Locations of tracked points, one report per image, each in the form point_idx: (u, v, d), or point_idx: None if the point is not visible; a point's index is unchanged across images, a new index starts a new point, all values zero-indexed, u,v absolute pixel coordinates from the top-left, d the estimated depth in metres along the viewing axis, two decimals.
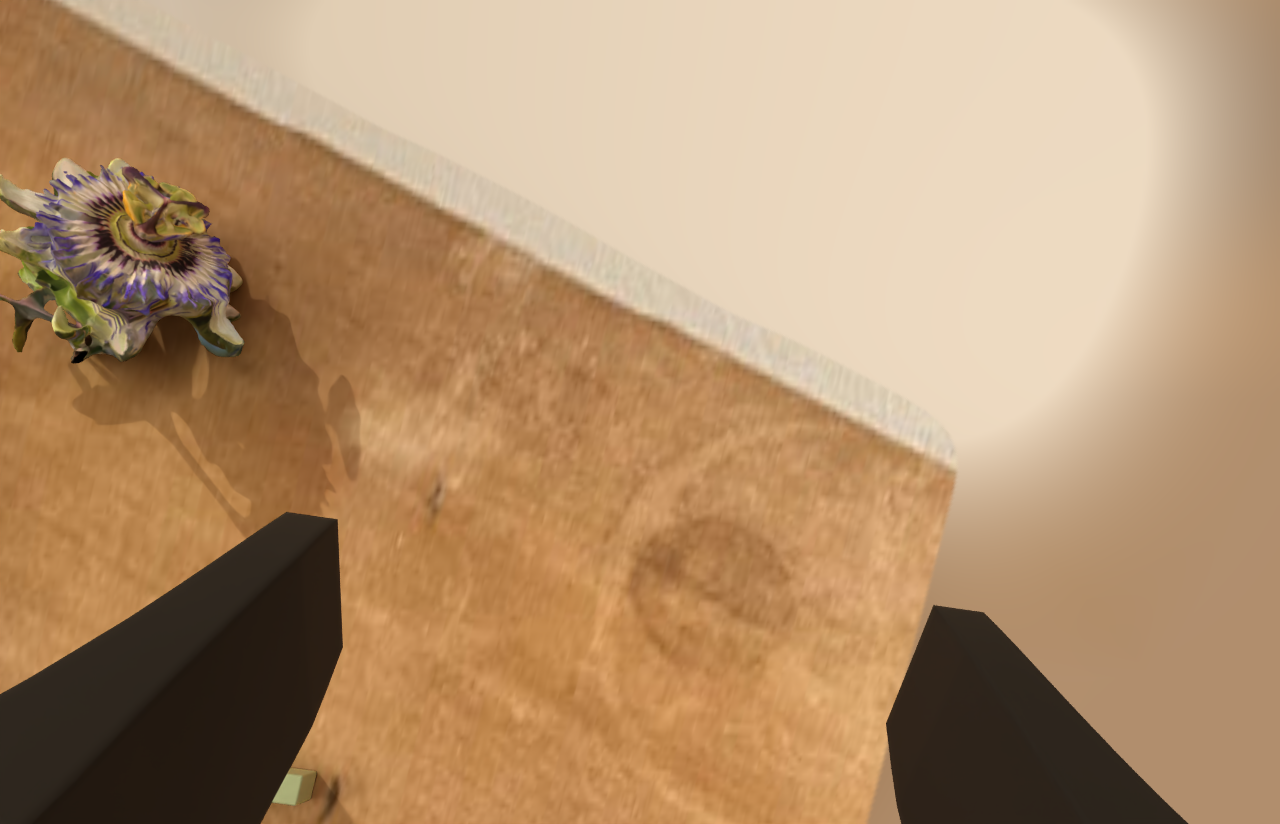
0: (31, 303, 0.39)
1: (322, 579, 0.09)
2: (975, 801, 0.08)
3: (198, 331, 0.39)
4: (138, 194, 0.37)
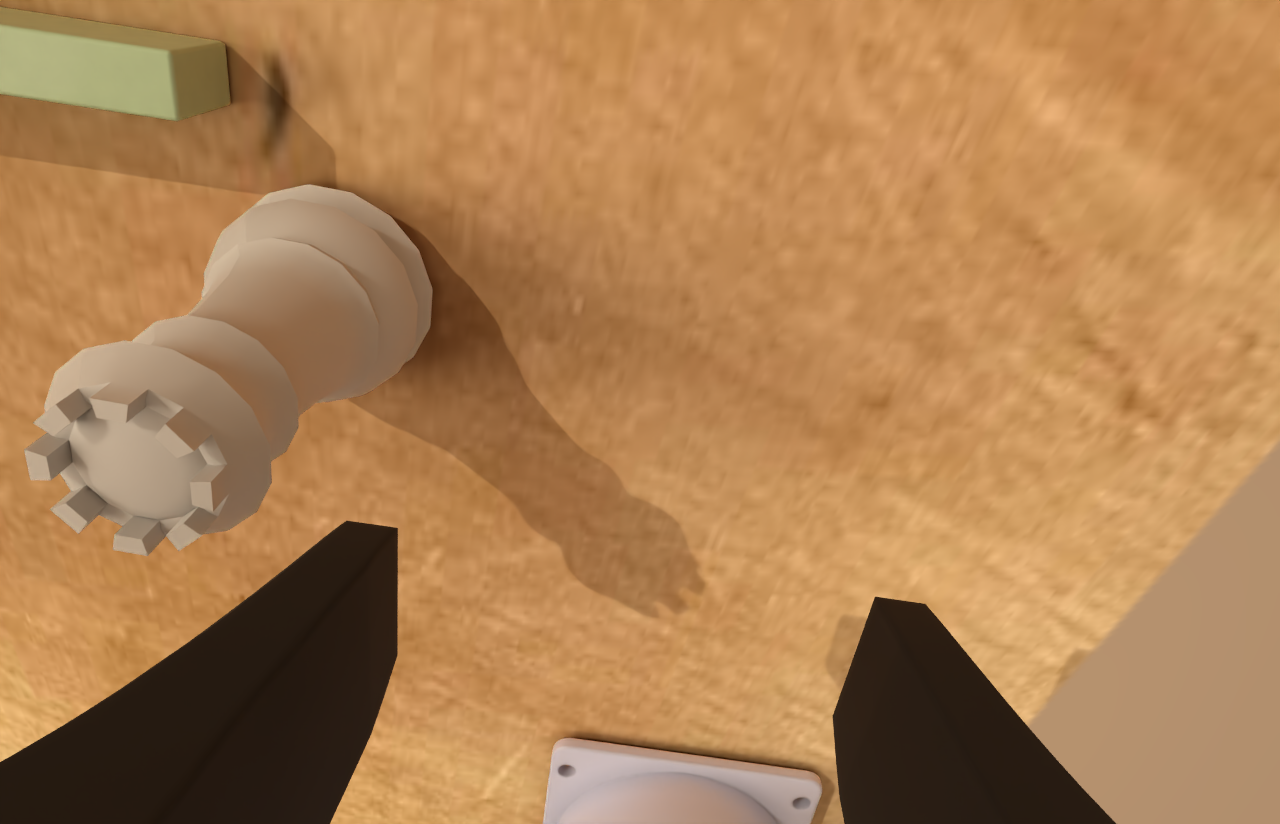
0: None
1: (384, 588, 0.09)
2: (906, 791, 0.08)
3: None
4: None
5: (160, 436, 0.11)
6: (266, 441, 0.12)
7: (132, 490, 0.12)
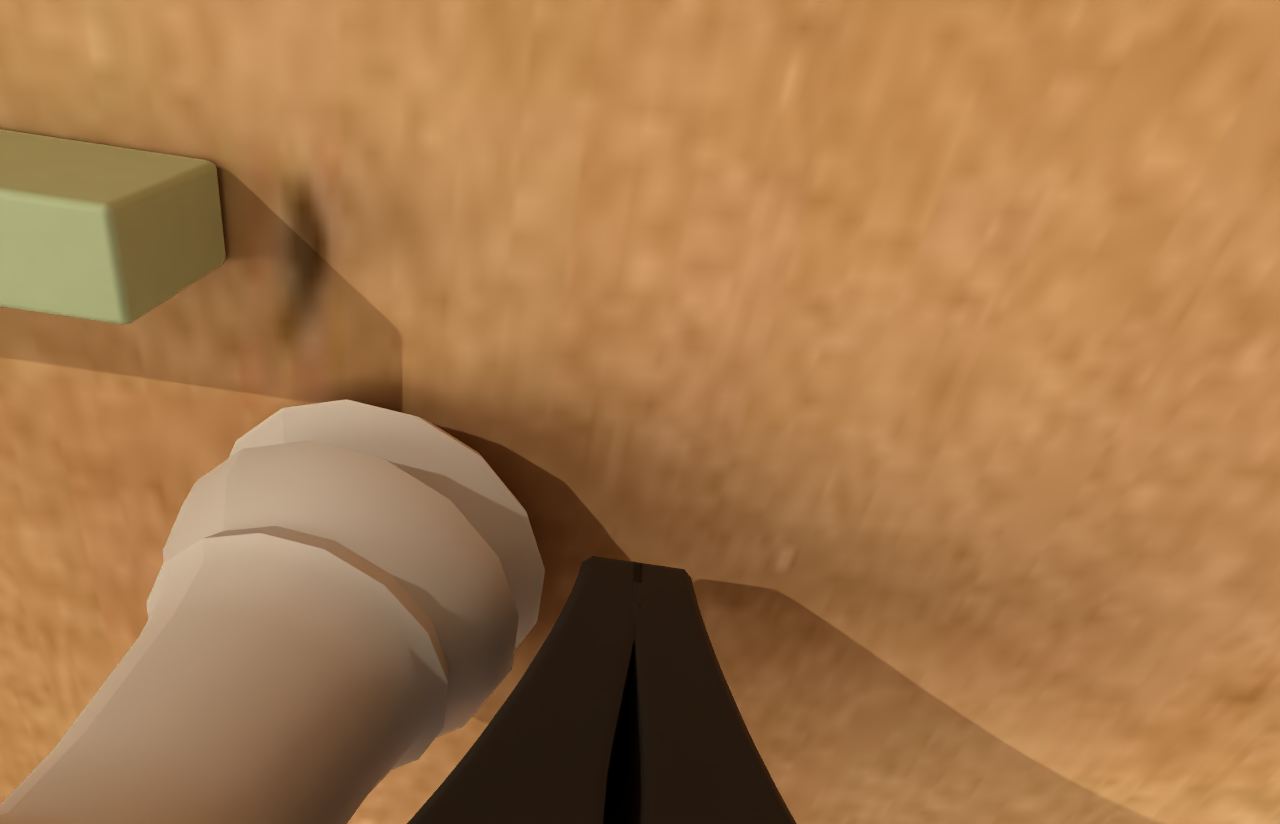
0: None
1: None
2: (620, 752, 0.08)
3: None
4: None
5: None
6: None
7: None
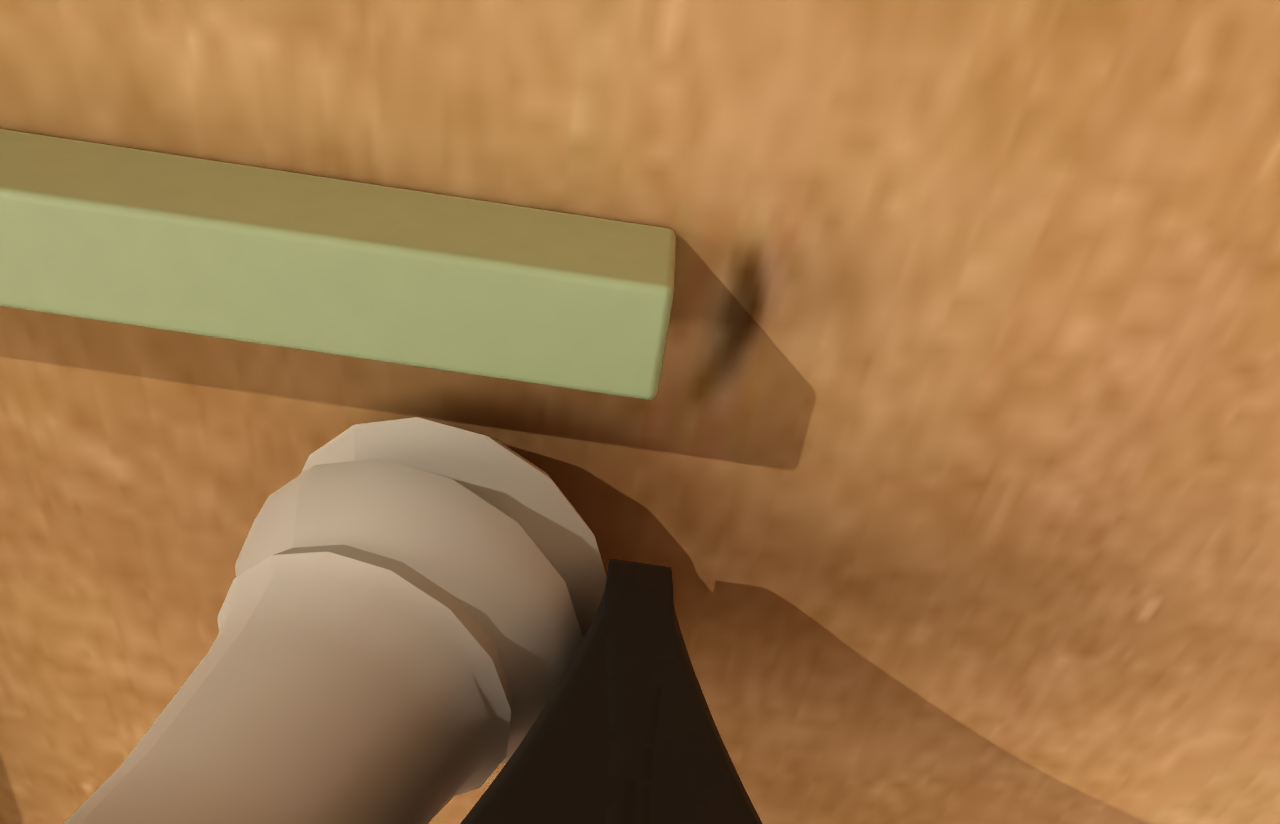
0: None
1: None
2: None
3: None
4: None
5: None
6: None
7: None
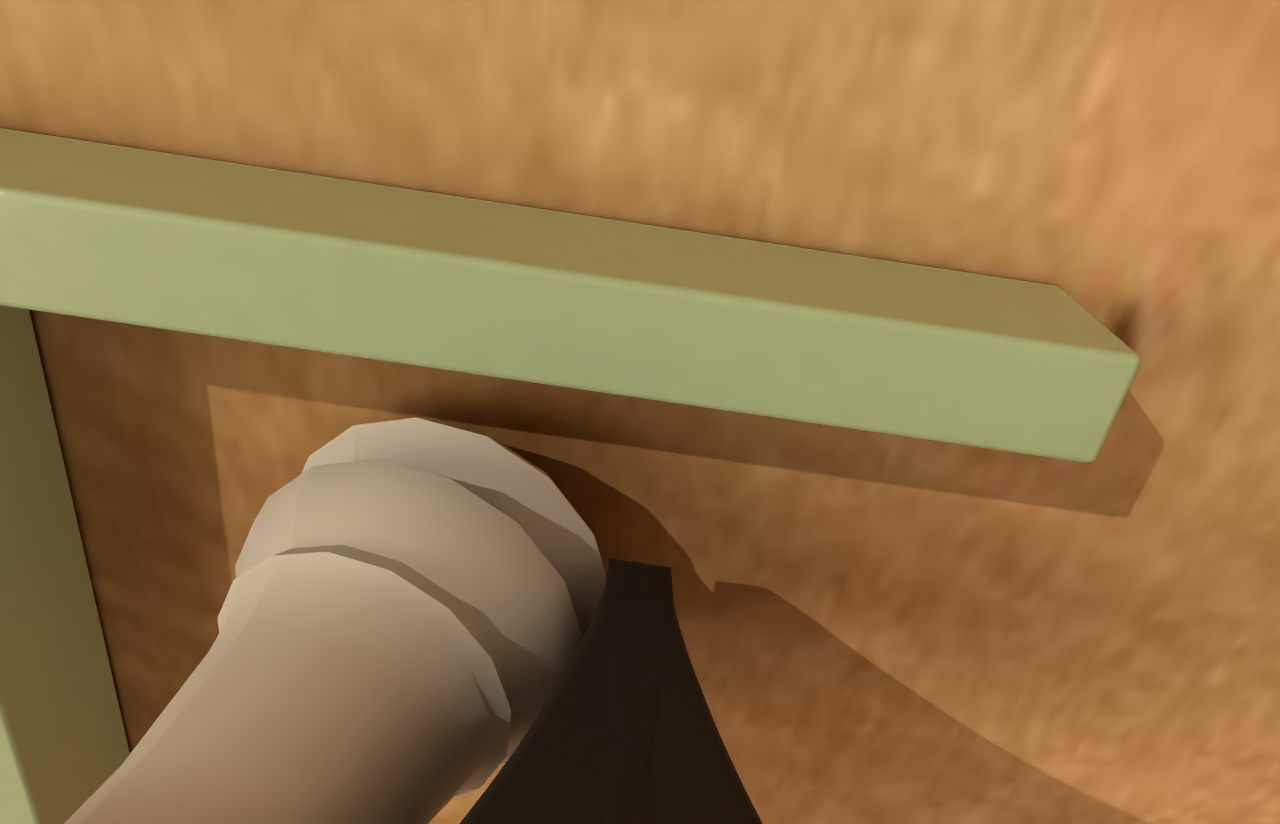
0: None
1: None
2: None
3: None
4: None
5: None
6: None
7: None
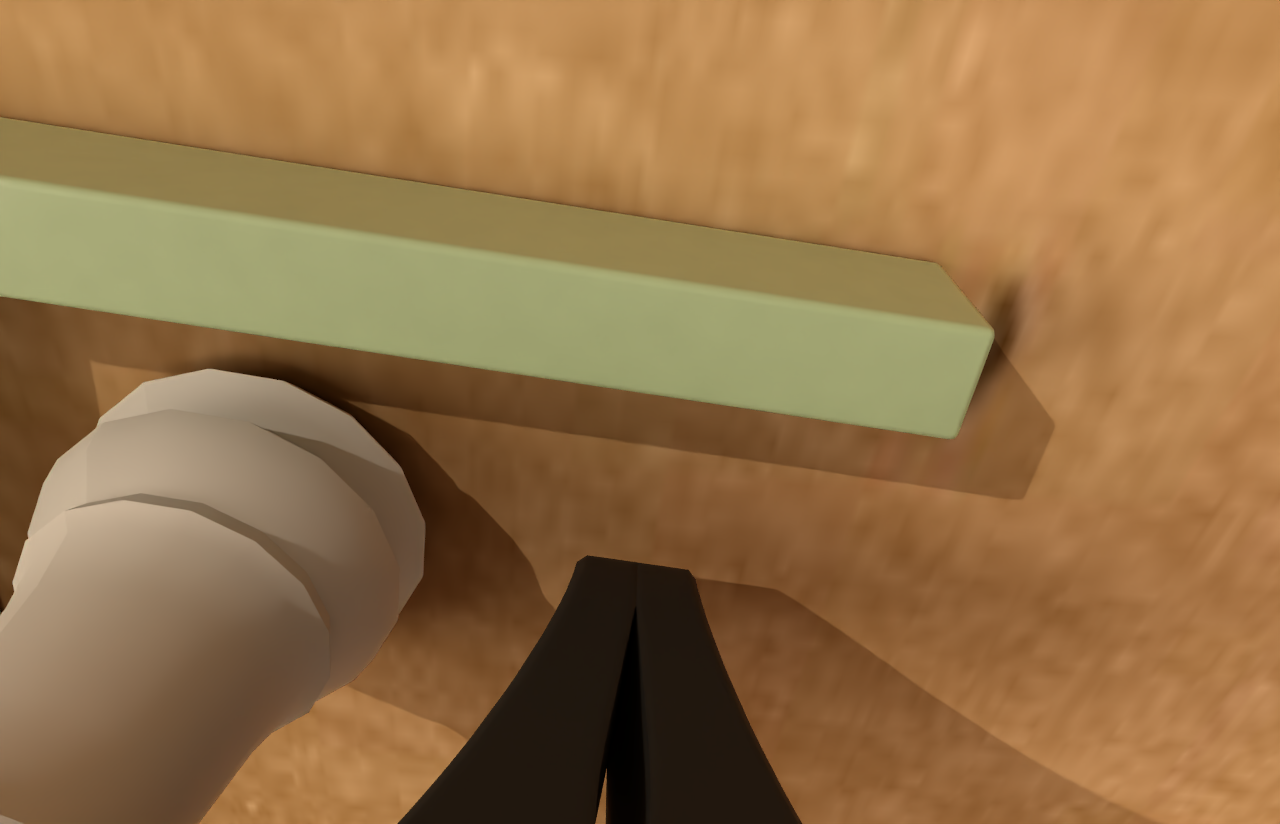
0: None
1: None
2: (626, 752, 0.08)
3: None
4: None
5: None
6: None
7: None
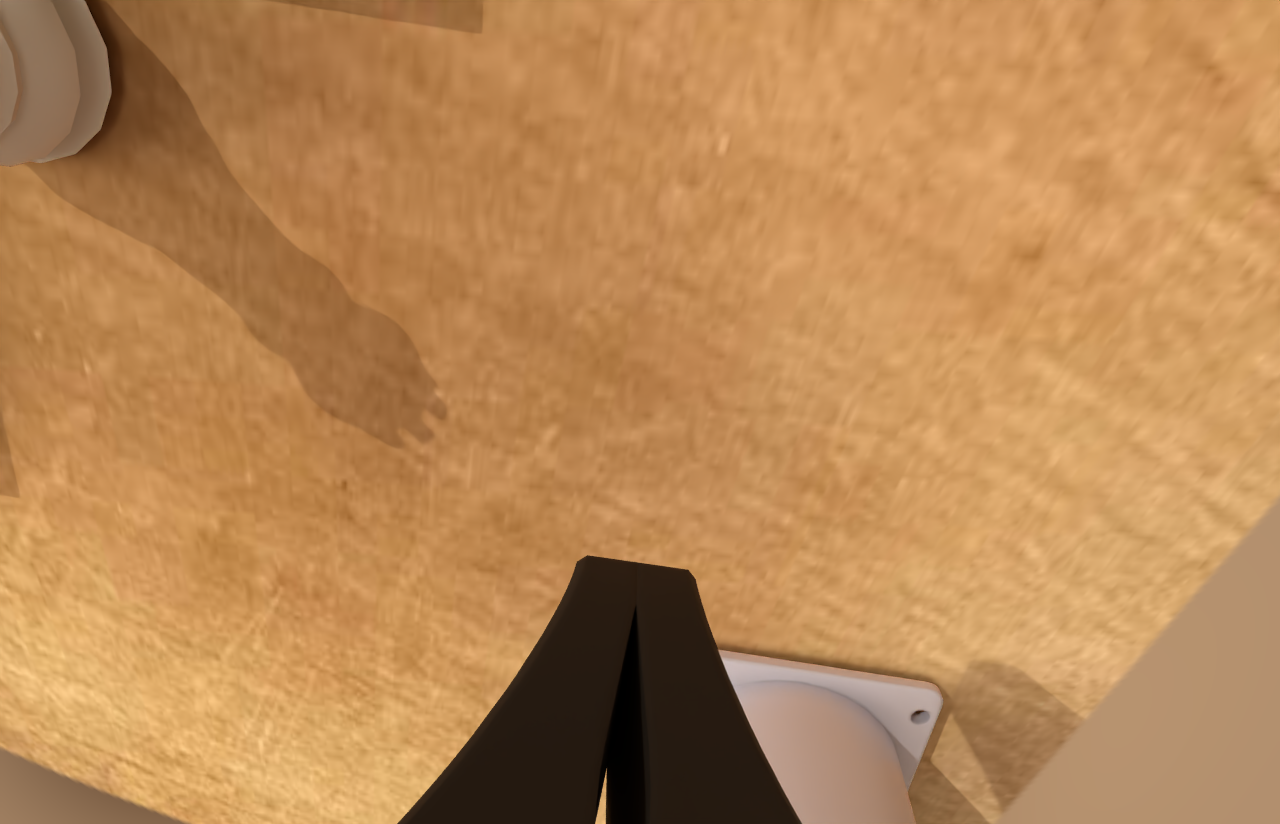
0: None
1: None
2: (626, 752, 0.08)
3: None
4: None
5: None
6: None
7: None
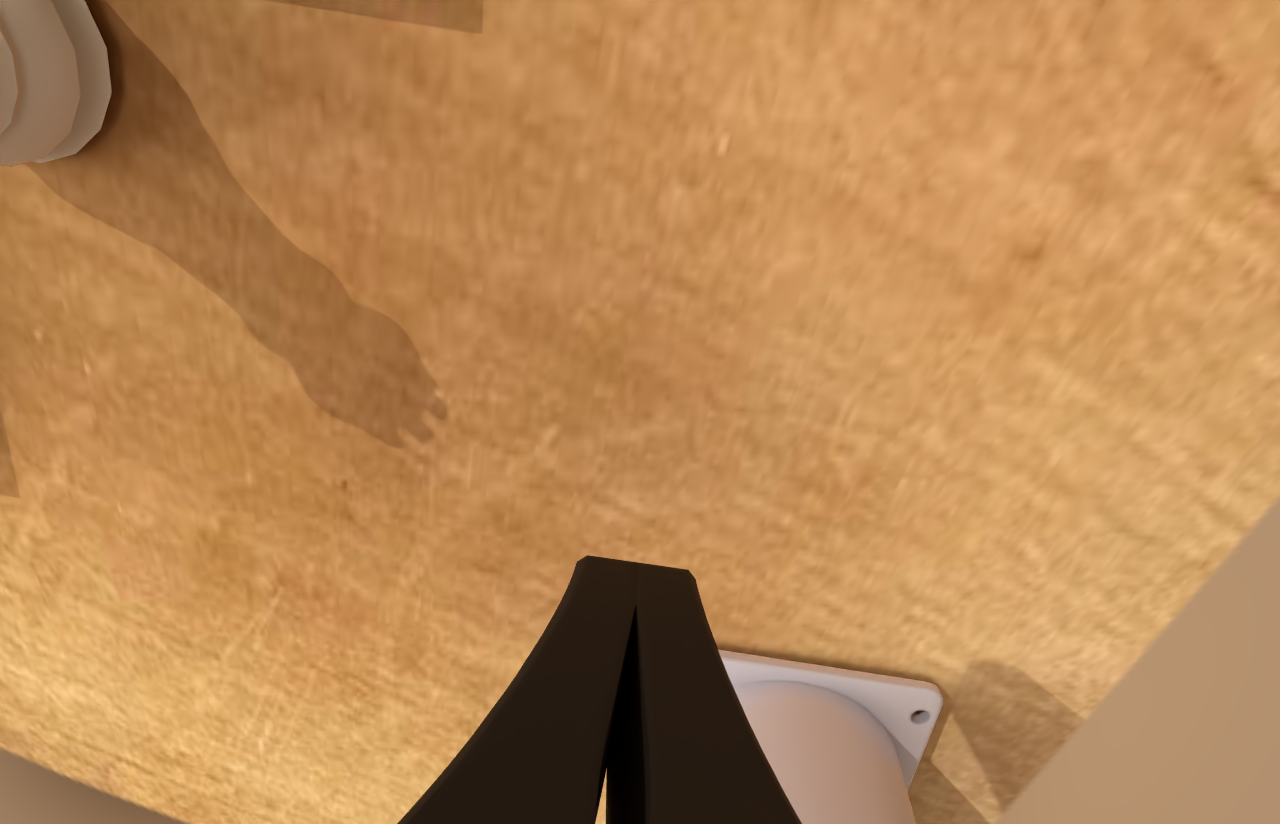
0: None
1: None
2: (626, 752, 0.08)
3: None
4: None
5: None
6: None
7: None
